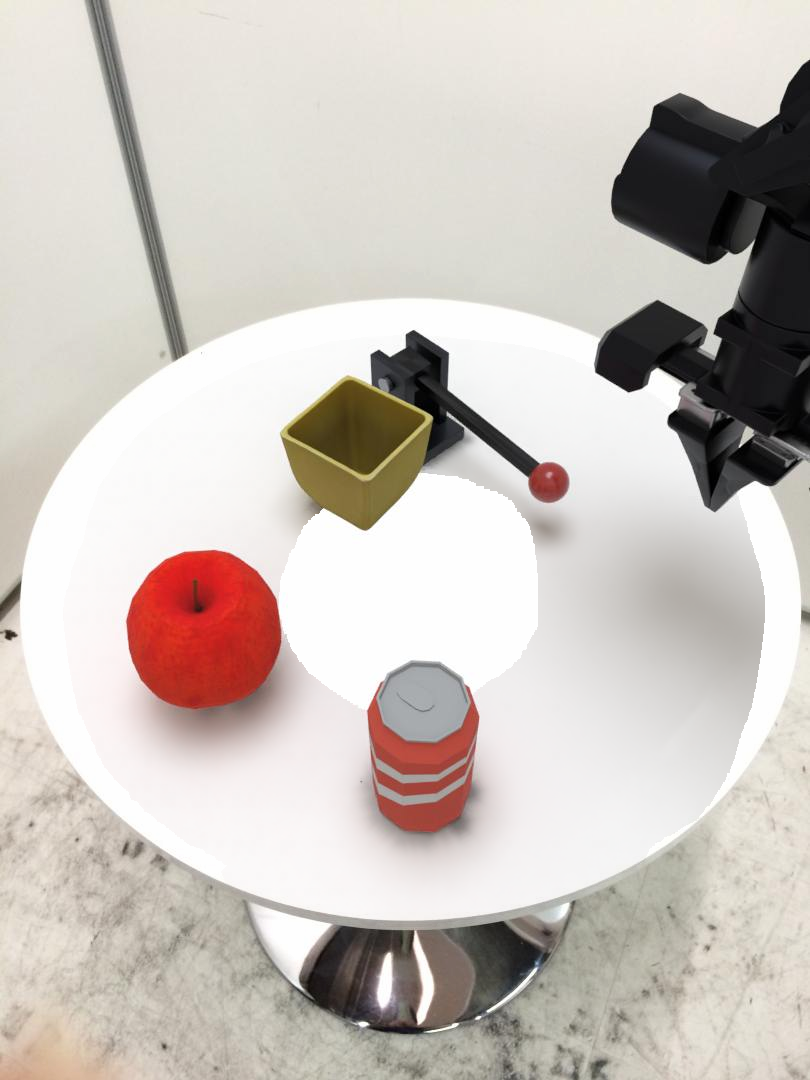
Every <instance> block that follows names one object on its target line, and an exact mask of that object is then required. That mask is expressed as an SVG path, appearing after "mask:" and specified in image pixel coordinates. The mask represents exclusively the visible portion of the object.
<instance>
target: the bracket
mask: <svg viewBox="0 0 810 1080" xmlns="http://www.w3.org/2000/svg"><path fill="white" fill-rule="evenodd" d="M408 346H410V347H411V348H413V349H414V350H415V351H416V352H418V353H419V354H420V355H421V356H423V357H424V358H425V359H426V360H428V361H429V362H430V363H431V371H430V376H431V377H432V378H434V379H435V380H436V381H437V382H439V383H440V384H441V385H442V386H444V387H445V388H446V389H447V390H449V369H450V368H449V367H450V352H448V350H446V349H444V348H442V347H441V346H439V344H437V343H435V342H433V341H432V340H431V339H429V338H427V337H426V336H425V335H423V334H421V333H420V332H418V331H416V330H415V329H412V330H410V331H409V332H407V333H405V348H406V347H408ZM369 356H370V359H369V360H370V380H371V385H372V386H374V387H376V388H378V389H380V390H382V391H384V392H386V393H388V394H390V395H392V396H395V397H397V398H399V399H401V400H403V401H405V402H407V403H409V404H411V405H413V406H415V407H417V408H419V409H421V410H423V411H425V412H427V413H428V414H430V415H431V416H432V417H433V422H432V426H431V431H430V436H429V441H428V446H427V450H426V455H425V459H424V462H423V465H425V464H427V463H428V462H429V461H431V460H433V459H434V458H436V457H438V456H439V455H440V454H441V453H442V452H444V451H446V450H447V449H449V448H450V447H452V446H453V445H455V444H456V443H458V442H459V441H461V440H462V439H464V437H465V426H463V425H462V424H461V423H458V422H457V421H456V420H454V419H453V418H451V417H450V416H448V412H447V411H446V410H444V409H443V408H442V407H441V406H439V405H438V404H437V403H436V402H435V401H433V400H432V399H431V398H430V397H428V396H427V395H426V394H425V393H424V392H422V391H421V390H418V391H416V392H415V393H414V373H412V372H411V371H410V370H408V369H407V368H405V367H404V366H402V365H401V364H399V363H398V362H396V361H395V360H394V359H392V358H391V356H389V355H388V354H386V353H385V352H384V351H383V350H381V349H377V350H375V351H373V352H372V353H370V355H369Z"/></svg>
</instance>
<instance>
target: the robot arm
mask: <svg viewBox="0 0 810 1080" xmlns="http://www.w3.org/2000/svg"><path fill="white" fill-rule="evenodd" d="M610 196H611V197H610V208H611V214H612V216H613V218H614V219H615V221H616V222H618V223H619V224H621V225H623V226H625V227H627V228H630V229H631V230H634V231H635V232H638V233H640V234H642V235H643V236H646V237H647V238H650V239H652V240H654V241H656V242H657V243H660V244H662V245H664V246H666V247H668V248H671V249H672V250H673V251H676V252H679V253H680V254H682V255H684V256H687V257H688V258H690V259H692V260H695V261H697V262H699V263H700V264H703V265H708V266H709V265H713V264H715V263H717V262H718V261H720V260H721V259H723V258H724V257H725V256H726V255H727V254H728V253H729V254H731V255H733V256H734V255H739V254H742V253H743V252H744V251H746V250H747V249H748V248H749V247H750V246H751V245H752V244H753V245H752V247H751V250H750V254H749V256H748V259H747V262H746V264H745V269H744V271H743V274H742V277H741V280H740V283H739V286H738V289H737V292H736V294H735V298H734V301H733V304H732V307H731V308H730V309H729V310H728V311H726V312H724V313H723V314H721V315H720V316H719V317H717V320H716V323H715V327H714V330H713V333H712V334H713V335H714V336H716V337H717V338H720V339H721V340H720V342H719V345H718V349H717V351H716V354H715V355H714V354H712V353H710V352H709V351H706V350H705V349H703V348H701V347H702V346H703V345H705V342H706V338H707V335H708V332H709V329H708V328H707V326H706V325H705V324H704V323H702V322H701V321H698V320H697V319H695V318H693V317H691V316H689V315H687V314H686V313H684V312H682V311H680V310H678V309H676V308H674V307H672V306H670V305H669V304H667V303H665V302H663V301H661V300H659V299H656V300H654V301H651V302H649V303H647V304H645V305H644V306H642V307H641V308H639V309H638V310H636V311H634V312H633V313H631V314H630V315H628V316H627V317H626V318H624V319H622V320H621V321H619V322H618V323H616V324H615V325H613V326H611V328H608V329H607V330H606V331H605V332H604V334H603V335H602V337H601V338H600V340H599V341H598V343H597V348H596V352H595V358H594V362H593V368H594V373H595V374H596V375H598V376H600V377H601V378H603V379H605V380H606V381H608V382H610V383H611V384H613V385H615V386H616V387H618V388H620V389H621V390H623V391H625V392H626V393H628V394H630V393H633V392H636V391H640V390H643V389H644V388H646V387H647V386H648V385H649V383H650V378H651V375H652V372H654V371H655V370H656V369H659V370H661V371H662V372H664V373H666V374H667V375H669V376H671V377H673V378H675V380H678V381H680V382H681V383H683V384H684V385H683V386H681V387H680V388H679V391H678V396H679V397H680V398H679V402H678V404H677V408H676V409H674V410H673V411H672V412H670V413H669V414H668V416H667V420H666V424H667V427H668V428H669V429H671V430H672V431H674V432H675V433H676V434H677V436H678V439H679V440H680V443H681V445H682V447H683V450H684V452H685V454H686V456H687V458H688V460H689V463H690V465H691V468H692V472H693V474H694V477H695V481H696V483H697V488H698V490H699V493H700V496H701V499H702V502H703V506H704V507H705V508H707V509H708V510H710V511H711V512H713V513H716V512H718V511H719V510H721V508H723V507H724V506H725V505H726V504H727V503H728V502H729V501H730V500H731V499H732V498H733V497H734V496H735V495H737V494H738V492H739V491H741V490H742V489H743V488H746V487H747V486H749V485H750V484H752V483H754V482H757V483H759V484H760V485H762V486H764V487H774V486H777V485H778V484H779V483H781V481H782V480H783V479H784V478H786V477H787V476H788V475H789V474H790V473H791V472H792V471H793V470H794V469H796V468H797V467H798V466H799V465H800V464H801V463H803V461H806V462H807V463H809V464H810V59H808V60H806V62H804V63H803V64H802V65H801V66H800V67H799V69H798V70H797V71H796V73H795V74H794V75H793V77H792V78H791V79H790V81H789V82H788V84H787V86H786V88H785V91H784V94H783V96H782V99H781V101H780V104H779V112H778V114H776V115H775V116H773V118H770V119H769V121H767V122H765V123H763V124H762V125H760V126H755V125H753V124H750V123H747V122H744V121H742V120H740V119H738V118H735V117H732V116H730V115H727V114H724V113H722V112H719V111H717V110H714V109H712V108H710V107H709V106H707V105H706V104H704V103H703V102H702V101H701V100H699V99H697V98H695V97H693V96H690V95H688V94H687V95H686V94H684V93H682V92H678V93H675V94H673V95H672V96H670V97H669V98H666V99H664V100H662V101H660V102H658V103H656V104H655V105H653V107H652V112H651V116H650V121H649V125H648V127H647V128H646V129H645V131H644V132H642V134H641V135H640V136H639V137H638V138H637V141H636V142H635V144H634V145H633V147H632V148H631V149H630V151H629V153H628V155H627V157H626V159H625V161H624V163H623V165H622V168H621V170H620V173H618V174H617V175H616V177H614V180H613V184H612V189H611V195H610ZM746 428H749V429H750V430H752V431H753V432H752V436H751V437H750V438H749V439H748V440H746V441H745V442H744V443H743V444H742V445H741V442H742V439H743V435H744V432H745V430H746ZM808 491H810V487H809V488H808Z"/></svg>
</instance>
